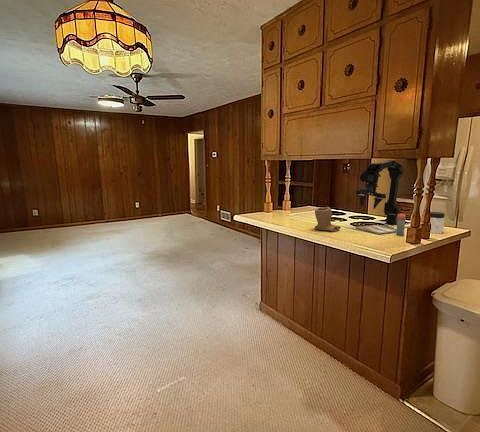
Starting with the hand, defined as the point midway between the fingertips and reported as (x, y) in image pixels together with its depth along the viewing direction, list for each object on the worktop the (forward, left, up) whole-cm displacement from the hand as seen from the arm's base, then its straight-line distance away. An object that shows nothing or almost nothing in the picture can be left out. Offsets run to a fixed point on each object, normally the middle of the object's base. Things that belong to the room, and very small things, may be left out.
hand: (367, 207), depth 190 cm
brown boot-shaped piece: (+26, -8, -15) cm, 31 cm away
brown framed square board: (-4, +6, -14) cm, 16 cm away
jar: (-31, +24, -14) cm, 42 cm away
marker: (-5, +21, -14) cm, 26 cm away
